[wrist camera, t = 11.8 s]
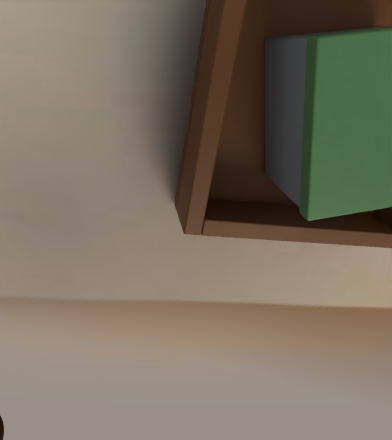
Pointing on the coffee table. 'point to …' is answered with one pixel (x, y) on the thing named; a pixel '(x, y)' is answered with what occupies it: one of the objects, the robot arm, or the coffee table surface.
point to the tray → (258, 126)
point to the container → (330, 119)
